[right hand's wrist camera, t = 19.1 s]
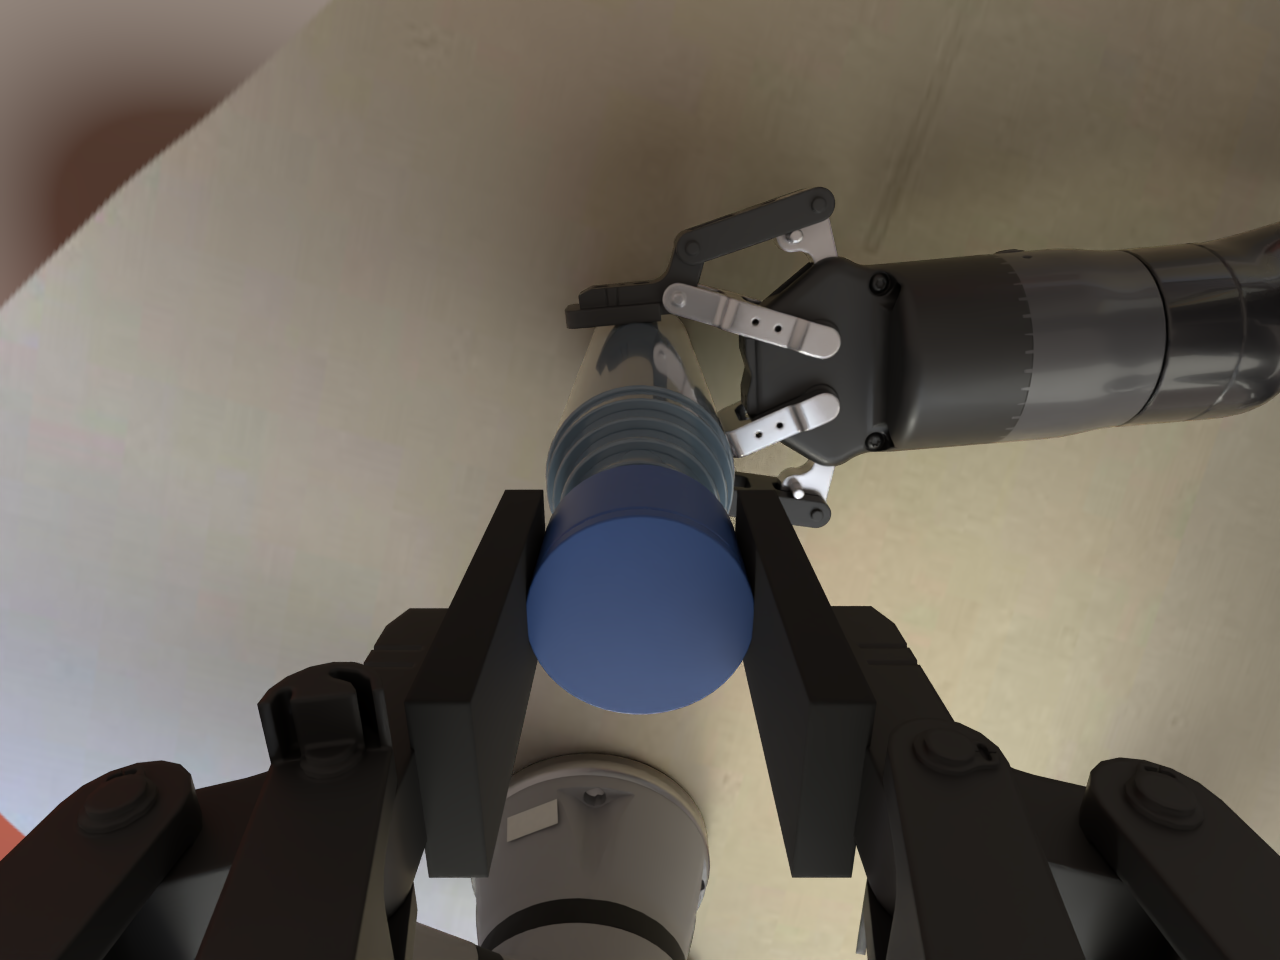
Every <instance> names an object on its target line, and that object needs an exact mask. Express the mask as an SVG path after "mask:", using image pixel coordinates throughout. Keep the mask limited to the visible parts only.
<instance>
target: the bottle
mask: <svg viewBox="0 0 1280 960" xmlns="http://www.w3.org/2000/svg"><path fill="white" fill-rule="evenodd" d="M643 464H645V465H654V466H661V467H665V468H669V469H673V470H675V471H678V472H681V473H683V474H685V475H687V476H689V477H691V478H693V479H695V480H696V481H698V482H699V483H701V484H702V485H703V486H705V487H706V488H707V489H708V490H709V491H710V492H711V493H712V494H714V495H715V496H716V498H717V499H718V500H719V501H720V503H721V504H722V505H723V507H724V508H725V510H726V512H727V514H729V512H730V508H731V505H732V500H733V493H734V480H735V467H734V460H733V454H732V451H731V448H730V444H729V442H728V439H727V436H726V434H725V431H724V428H723V426H722V423H721V420H720V418H719V415H718V413H717V410H716V407H715V405H714V402H713V399H712V397H711V394H710V391H709V389H708V386H707V383H706V381H705V378H704V376H703V373H702V370H701V368H700V365H699V362H698V360H697V357H696V354H695V352H694V349H693V347H692V344H691V341H690V339H689V336H688V333H687V331H686V329H685V326H684V325H683V323H682V321H681V320H680V319H679V317H678V316H676V315H673V314H668V315H661V321H659V322H647V323H632V324H624V325H613V326H601V327H596V328H595V330H594V332H593V335H592V338H591V340H590V343H589V345H588V348H587V351H586V353H585V356H584V359H583V361H582V364H581V367H580V369H579V372H578V374H577V377H576V380H575V382H574V385H573V388H572V390H571V393H570V396H569V398H568V401H567V403H566V406H565V409H564V411H563V414H562V417H561V419H560V422H559V425H558V427H557V430H556V432H555V435H554V438H553V440H552V443H551V446H550V449H549V452H548V457H547V463H546V484H547V497H548V502H549V506H550V510H551V513H552V514H553V513H554V511H555V509H556V507H557V506H558V505H559V503H560V502H561V501H562V499H563V498H564V497H565V496H566V495H567V494H568V493H569V492H570V491H571V490H572V489H573V488H574V487H576V486H577V485H578V484H580V483H581V482H582V481H584V480H586V479H588V478H589V477H591V476H593V475H595V474H597V473H600V472H602V471H605V470H608V469H611V468H615V467H619V466H626V465H643Z"/></svg>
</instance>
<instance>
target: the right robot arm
mask: <svg viewBox="0 0 1280 960" xmlns="http://www.w3.org/2000/svg"><path fill="white" fill-rule="evenodd" d="M735 534H736V537H737V541H738V544H739V548H740V551H741V554H742V558H743V561H744V565H745V568H746V572H747V575H748V579H749V582H750V585H751V589H752V593H753V597H754V616H753V631H752V640H751V643H750V645H749V648H748V651H747V653H746V654H745V656H744V658H743V663H744V667H745V672H746V676H747V681H748V685H749V689H750V694H751V698H752V703H753V707H754V711H755V716H756V720H757V725H758V729H759V733H760V738H761V742H762V747H763V751H764V756H765V760H766V764H767V769H768V773H769V778H770V782H771V786H772V791H773V795H774V800H775V804H776V808H777V813H778V817H779V822H780V826H781V831H782V835H783V839H784V844H785V848H786V853H787V857H788V861H789V866H790V870H791V875H792V878H851V877H852V870H853V863H854V856H855V849H856V846H857V849H858V852H859V855H860V858H861V861H862V864H863V867H864V870H865V872H866V875H867V882H866V889H865V895H864V902H863V908H862V915H861V921H860V927H859V934H858V941H857V948H856V954H862V955H865V953H866V947H867V957H868V960H1280V856H1279V855H1278V854H1277V853H1276V852H1275V851H1274V850H1273V849H1272V848H1271V847H1270V846H1269V845H1268V844H1267V843H1266V842H1265V841H1264V840H1263V839H1262V838H1260V837H1259V836H1258V835H1257V834H1256V833H1255V832H1254V831H1253V830H1252V829H1251V828H1250V827H1249V826H1248V825H1247V824H1246V823H1245V822H1244V821H1243V820H1242V819H1241V818H1240V817H1239V816H1238V815H1237V814H1236V813H1235V812H1233V811H1232V810H1231V809H1230V808H1229V807H1228V806H1227V805H1226V804H1225V803H1224V802H1223V801H1222V800H1221V799H1220V798H1218V797H1217V796H1216V795H1214V794H1213V793H1212V792H1210V791H1209V790H1208V789H1207V788H1205V787H1204V786H1203V785H1201V784H1200V783H1199V782H1197V781H1195V780H1193V779H1191V778H1189V777H1187V776H1185V775H1183V774H1181V773H1179V772H1177V771H1175V770H1173V769H1171V768H1168V767H1165V766H1162V765H1159V764H1156V763H1152V762H1149V761H1146V760H1140V759H1130V758H1115V759H1110V760H1105V761H1101V762H1100V763H1099V764H1098V765H1097V766H1096V767H1095V768H1094V769H1093V770H1091V772H1090V776H1089V779H1088V783H1087V786H1086V787H1085V786H1080V785H1076V784H1072V783H1067V782H1063V781H1058V780H1054V779H1050V778H1045V777H1041V776H1037V775H1033V774H1030V773H1026V772H1023V771H1020V770H1016V769H1014V768H1011V767H1010V764H1009V762H1008V761H1007V759H1006V758H1005V756H1004V755H1003V753H1002V752H1001V750H1000V749H999V747H998V746H996V745H995V744H994V743H993V742H991V741H990V740H989V739H988V738H986V737H985V736H984V735H983V734H981V733H980V732H978V731H975V730H973V729H971V728H969V727H967V726H965V725H963V724H961V723H958V722H954V720H953V718H952V717H951V715H950V713H949V712H948V710H947V708H946V707H945V705H944V704H943V702H942V700H941V699H940V697H939V695H938V694H937V692H936V691H935V689H934V687H933V686H932V684H931V682H930V681H929V679H928V677H927V676H926V674H925V673H924V671H923V669H922V668H921V666H920V665H917V659H916V658H915V656H914V655H913V653H912V651H911V650H910V648H907V643H906V642H905V640H904V638H903V637H902V635H901V633H900V632H899V630H898V628H897V627H896V625H895V624H894V623H893V622H892V621H890V620H889V619H888V618H886V617H885V616H884V615H882V614H881V613H880V612H878V611H877V610H876V609H874V608H873V607H872V606H831V605H830V603H829V601H828V599H827V597H826V595H825V593H824V591H823V589H822V587H821V585H820V582H819V580H818V578H817V576H816V574H815V572H814V570H813V568H812V566H811V564H810V562H809V560H808V557H807V555H806V553H805V551H804V549H803V547H802V545H801V543H800V541H799V539H798V537H797V534H796V532H795V530H794V528H793V526H792V524H791V522H790V520H789V518H788V516H787V514H786V511H785V509H784V507H783V505H782V503H781V501H780V499H779V497H778V495H777V493H776V491H775V490H737V505H736V524H735ZM544 535H545V516H544V497H543V490H505V492H504V494H503V496H502V498H501V500H500V502H499V504H498V506H497V508H496V510H495V512H494V515H493V517H492V519H491V521H490V523H489V525H488V527H487V529H486V531H485V533H484V535H483V538H482V540H481V542H480V544H479V546H478V548H477V550H476V552H475V554H474V556H473V558H472V561H471V563H470V565H469V567H468V569H467V571H466V573H465V575H464V577H463V579H462V581H461V583H460V586H459V588H458V590H457V592H456V594H455V596H454V598H453V600H452V602H451V604H450V606H449V608H409V609H408V610H407V611H405V612H404V613H403V614H401V615H400V616H399V617H397V618H396V619H395V620H393V621H392V622H391V623H389V624H388V625H387V626H386V627H385V629H384V630H383V632H382V634H381V635H380V637H379V639H378V640H377V642H376V644H375V645H374V650H371V652H370V653H369V655H368V657H367V658H366V660H365V662H364V665H363V664H359V663H356V662H331V663H326V664H322V665H317V666H312V667H309V668H306V669H304V670H301V671H299V672H297V673H294V674H292V675H290V676H287V677H286V678H284V679H283V680H281V681H280V682H279V683H277V684H276V685H274V686H273V687H271V688H270V689H269V690H268V691H267V692H266V694H265V695H264V696H263V697H262V699H261V700H260V701H259V703H258V704H257V705H258V710H259V714H260V718H261V722H262V727H263V731H264V735H265V740H266V744H267V748H268V752H269V757H270V761H271V766H270V768H269V771H267V772H264V773H261V774H258V775H254V776H251V777H248V778H244V779H239V780H235V781H231V782H226V783H222V784H218V785H213V786H209V787H205V788H200V789H196V790H195V787H194V784H193V780H192V777H191V774H190V773H189V772H188V771H187V770H186V769H185V768H184V767H183V766H182V765H181V764H176V763H172V762H167V761H162V760H161V761H151V762H142V763H136V764H132V765H129V766H126V767H123V768H120V769H117V770H113V771H110V772H108V773H106V774H104V775H102V776H100V777H99V778H97V779H95V780H93V781H91V782H89V783H87V784H85V785H83V786H82V787H80V788H79V789H78V790H77V791H75V792H74V793H73V794H71V795H70V796H69V797H68V798H66V799H65V800H64V801H62V802H61V803H60V804H59V805H58V806H57V807H56V808H55V809H54V810H53V811H52V812H51V813H50V814H49V815H48V816H46V817H45V818H44V819H43V820H42V821H41V822H40V823H39V824H38V825H37V826H36V827H35V828H34V829H33V830H32V831H31V832H30V833H29V834H28V835H27V836H26V837H25V838H24V839H23V840H22V841H21V842H20V843H19V844H18V845H17V846H16V847H15V848H14V849H13V850H12V851H10V852H9V853H8V854H7V855H6V856H5V857H4V858H3V859H2V860H1V861H0V960H687V958H688V954H689V951H690V947H691V943H692V938H693V934H694V929H695V922H696V912H697V910H698V908H699V906H700V904H701V902H702V899H703V897H704V893H705V889H706V886H707V883H708V878H709V871H710V860H709V850H708V840H707V833H706V827H705V824H704V821H703V818H702V816H701V813H700V811H699V809H698V808H697V806H696V804H695V803H694V801H693V800H692V799H691V797H690V796H689V795H688V794H687V793H686V792H685V791H684V790H683V789H682V787H680V786H679V785H678V784H677V783H676V782H675V781H673V780H672V779H671V778H669V777H668V776H666V775H665V774H663V773H661V772H660V771H658V770H656V769H654V768H652V767H650V766H647V765H645V764H643V763H640V762H637V761H634V760H631V759H627V758H623V757H619V756H613V755H606V754H588V753H585V754H571V755H564V756H559V757H554V758H550V759H547V760H543V761H540V762H538V763H535V764H533V765H530V766H528V767H526V768H524V769H522V770H520V771H519V772H517V773H515V774H514V775H512V771H513V766H514V762H515V757H516V753H517V749H518V744H519V740H520V735H521V731H522V727H523V722H524V718H525V713H526V709H527V705H528V700H529V696H530V691H531V687H532V682H533V678H534V674H535V669H536V665H537V660H538V659H537V657H536V656H535V654H534V652H533V649H532V647H531V644H530V642H529V638H528V624H527V608H526V599H527V595H528V590H529V586H530V583H531V580H532V576H533V573H534V569H535V566H536V562H537V559H538V556H539V552H540V549H541V545H542V542H543V539H544ZM511 775H512V776H511ZM424 848H425V853H426V860H427V867H428V874H429V878H471V882H472V887H473V890H474V894H475V896H476V927H477V938H478V945H475V944H473V943H472V942H469V941H466V940H464V939H461V938H458V937H456V936H453V935H450V934H448V933H445V932H442V931H440V930H437V929H434V928H431V927H429V926H426V925H423V924H421V923H418V922H416V919H417V903H416V895H415V889H414V882H413V881H414V878H415V875H416V872H417V869H418V866H419V863H420V860H421V857H422V854H423V851H424Z"/></svg>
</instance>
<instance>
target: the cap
mask: <svg viewBox="0 0 1280 960" xmlns="http://www.w3.org/2000/svg"><path fill="white" fill-rule="evenodd" d="M526 608H527V624H528V638H529V642H530V644H531V647H532V649H533V652H534V654H535V656H536V657H537V659H538V661H539V663H540V664H541V666H542V667H543V668H544V670H545V671H546V672H547V674H548V675H549V676H550V677H551V678H552V679H553V680H554V681H555V682H556V683H557V684H558V685H559V686H560V687H562V688H563V689H564V690H566V691H567V692H568V693H570V694H571V695H573V696H575V697H576V698H578V699H580V700H582V701H584V702H586V703H588V704H590V705H592V706H595V707H598V708H601V709H604V710H608V711H613V712H618V713H625V714H655V713H663V712H668V711H672V710H676V709H679V708H682V707H685V706H688V705H690V704H692V703H695V702H697V701H699V700H701V699H703V698H704V697H706V696H707V695H709V694H711V693H712V692H714V691H715V690H716V689H717V688H719V687H720V686H721V685H722V684H724V683H725V682H726V680H727V679H728V678H729V677H730V676H731V675H732V674H733V673H734V672H735V670H736V669H737V668H738V666H739V665H740V663H741V662H742V660H743V658H744V656H745V654H746V653H747V651H748V648H749V645H750V643H751V640H752V631H753V616H754V597H753V593H752V589H751V585H750V582H749V579H748V575H747V572H746V568H745V565H744V561H743V558H742V554H741V551H740V548H739V544H738V541H737V537H736V534H735V531H734V527H733V525H732V522H731V520H730V517H729V515H728V514H727V512H726V510H725V508H724V507H723V505H722V504H721V503H720V501H719V500H718V499H717V498H716V496H715V495H714V494H712V493H711V492H710V491H709V490H708V489H707V488H706V487H705V486H703V485H702V484H701V483H699V482H698V481H696V480H695V479H693V478H691V477H689V476H687V475H685V474H683V473H681V472H678V471H675V470H673V469H669V468H665V467H661V466H654V465H645V464H643V465H626V466H619V467H615V468H611V469H608V470H605V471H602V472H600V473H597V474H595V475H593V476H591V477H589V478H588V479H586V480H584V481H582V482H581V483H580V484H578V485H577V486H576V487H574V488H573V489H572V490H571V491H570V492H569V493H568V494H567V495H566V496H565V497H564V498H563V499H562V501H561V502H560V503H559V505H558V506H557V507H556V509H555V511H554V513H553V514H552V516H551V518H550V521H549V523H548V526H547V528H546V532H545V535H544V539H543V542H542V545H541V549H540V552H539V556H538V559H537V562H536V566H535V569H534V573H533V576H532V580H531V583H530V586H529V590H528V595H527V599H526Z"/></svg>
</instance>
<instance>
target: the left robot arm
mask: <svg viewBox="0 0 1280 960" xmlns="http://www.w3.org/2000/svg"><path fill="white" fill-rule="evenodd" d="M834 207H835V199H834V196H833V194H832V193H831V192H830V191H829V190H828V189H826V188H824V187H815V188H807V189H801V190H798V191H795V192H792V193H789V194H786V195H784V196H781V197H778V198H775V199H772V200H769V201H766V202H764V203H761V204H758V205H755V206H752V207H749V208H746V209H744V210H741V211H738V212H735V213H732V214H729V215H726V216H723V217H721V218H718V219H715V220H712V221H709V222H706V223H703V224H701V225H698V226H695V227H692V228H689V229H686V230H684V231H682V232H680V233H679V234H678V235H677V236H676V238H675V240H674V247H673V250H672V254H671V258H670V261H669V265H668V268H667V270H666V272H665V273H664V274H663V275H662V276H661V277H659V278H658V279H655V280H651V281H639V282H628V283H618V284H606V285H594V286H591V287H590V288H588V289H586V290H584V291H582V292H581V293H580V294H579V304H573V305H569V306H568V307H567V308H566V309H565V315H566V323H567V328H569V329H578V328H590V327H601V326H613V325H624V324H632V323H647V322H659V321H661V315H668V314H673V315H676V316H680V317H684V318H687V319H691V320H694V321H698V322H701V323H705V324H708V325H712V326H715V327H718V328H720V329H722V330H725V331H728V332H731V333H734V334H738V335H739V349H740V352H741V355H742V358H743V361H744V365H745V368H744V373H743V377H742V381H741V401H739V402H736V403H734V404H732V405H730V406H727V407H725V408H723V409H722V410H720V411H719V412H718V415H719V418H720V420H721V423H722V426H723V428H724V431H725V434H726V436H727V439H728V442H729V444H730V448H731V451H732V454H733V458H741V457H744V456H747V455H749V454H751V453H754V452H756V451H758V450H760V449H763V448H765V447H767V446H770V445H772V444H774V443H776V442H781V443H783V444H784V445H786V446H788V447H789V448H791V449H793V450H794V451H796V452H798V453H799V454H801V455H803V456H804V457H806V458H808V461H807V462H806V463H805V464H804V465H802V466H800V467H797V468H787V469H785V470H783V471H782V472H781V473H780V474H779V476H778V477H771V476H764V475H757V474H750V473H743V472H736V471H735V480H734V493H733V500H732V505H731V508H730V512H729V514H728V515H729V516H732V517H736V505H737V490H775V491H776V493H777V495H778V497H779V499H780V501H781V503H782V505H783V507H784V509H785V511H786V514H787V516H788V518H789V520H790V522H791V524H792V525H797V526H804V527H812V528H819V527H822V526H824V525H825V524H827V523H828V521H829V520H830V517H831V510H830V508H829V506H828V505H827V502H826V499H827V495H828V491H829V487H830V484H831V480H832V476H833V472H834V468H835V466H838V465H841V464H843V463H845V462H847V461H848V460H850V459H851V458H853V457H855V456H858V455H860V454H863V453H867V452H888V451H902V450H915V449H927V448H939V447H952V446H964V445H975V444H989V443H1001V442H1013V441H1025V440H1037V439H1048V438H1056V437H1063V436H1068V435H1073V434H1078V433H1082V432H1087V431H1091V430H1096V429H1102V428H1109V427H1121V426H1133V425H1145V424H1157V423H1170V422H1180V421H1194V420H1205V419H1215V418H1223V417H1228V416H1233V415H1237V414H1242V413H1245V412H1248V411H1250V410H1252V409H1255V408H1257V407H1259V406H1261V405H1263V404H1265V403H1267V402H1268V401H1270V400H1271V399H1273V398H1274V397H1275V396H1276V395H1277V394H1279V393H1280V222H1277V223H1274V224H1271V225H1267V226H1264V227H1261V228H1257V229H1254V230H1250V231H1247V232H1243V233H1240V234H1236V235H1233V236H1229V237H1225V238H1220V239H1216V240H1212V241H1208V242H1202V243H1188V244H1176V245H1165V246H1154V247H1142V248H1131V249H1120V250H1104V251H1101V250H1080V249H1047V250H1035V251H1023V250H1017V249H1012V250H1004V251H999V252H996V253H995V254H988V255H977V256H966V257H955V258H944V259H932V260H921V261H910V262H899V263H888V264H877V265H859V264H856V263H854V262H852V261H850V260H848V259H846V258H843V257H838V255H837V250H836V246H835V241H834V237H833V232H832V228H831V223H830V219H829V217H830V216H831V214H832V213H833V211H834ZM770 239H773V241H774V243H775V245H776V246H777V247H778V248H779V249H781V250H783V251H787V252H797V251H802V252H803V253H805V254H806V256H807V257H808V259H809V263H807V264H806V265H805V266H804V267H803V268H801V269H800V270H799V271H798V272H797V273H795V274H794V275H793V276H792V277H791V278H790V279H788V280H787V281H786V282H785V283H784V284H782V285H781V286H780V287H779V288H778V289H776V290H775V291H774V292H773V293H772V294H771V295H769V296H768V297H767V298H766V299H765V300H763V301H762V300H759V299H755V298H752V297H748V296H745V295H741V294H738V293H734V292H731V291H727V290H723V289H717V288H714V287H710V286H707V285H703V284H700V283H698V282H699V278H700V275H701V272H702V268H703V265H704V262H706V261H709V260H712V259H715V258H718V257H721V256H723V255H726V254H729V253H732V252H735V251H738V250H741V249H744V248H747V247H750V246H753V245H756V244H758V243H761V242H764V241H767V240H770ZM746 413H747V414H748V415H746ZM757 432H760V433H759V434H756V433H757Z"/></svg>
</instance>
